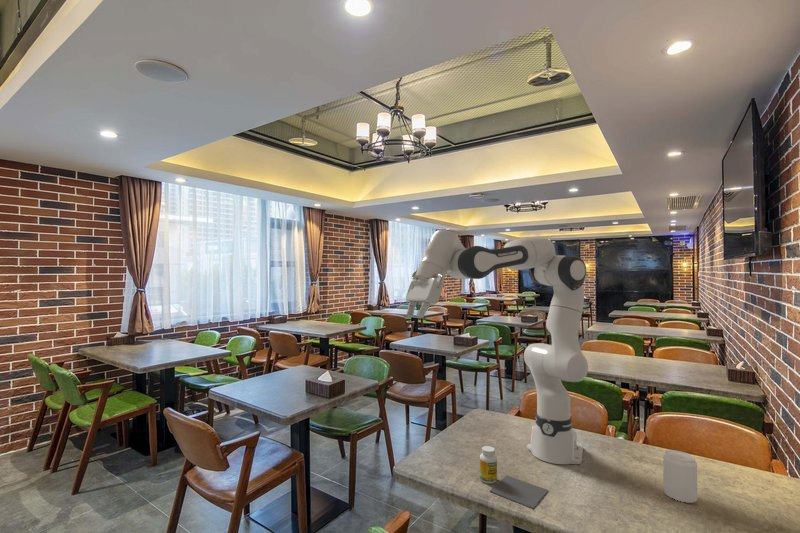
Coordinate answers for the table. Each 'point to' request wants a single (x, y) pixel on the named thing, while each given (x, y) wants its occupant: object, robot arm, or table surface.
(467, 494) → the table surface
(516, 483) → the rubber mat
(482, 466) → the supplement bottle
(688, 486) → the beverage can
